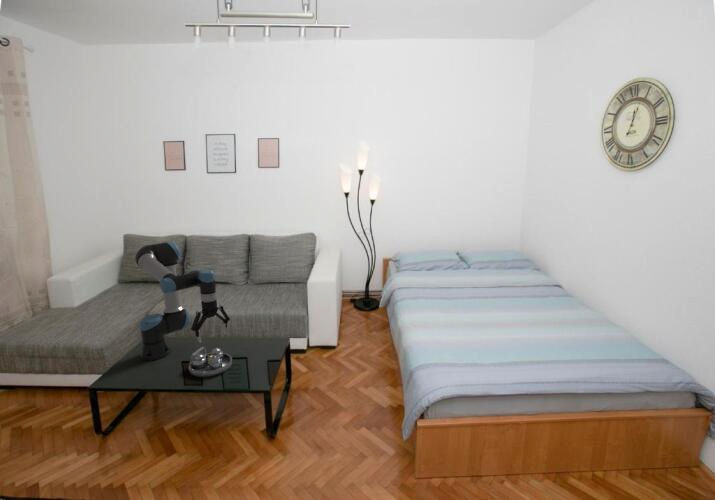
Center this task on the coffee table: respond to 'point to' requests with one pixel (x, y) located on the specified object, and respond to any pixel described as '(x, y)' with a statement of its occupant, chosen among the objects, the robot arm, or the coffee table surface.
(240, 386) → the coffee table surface
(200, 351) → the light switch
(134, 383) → the coffee table surface
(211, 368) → the grey nut
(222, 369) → the carrier
